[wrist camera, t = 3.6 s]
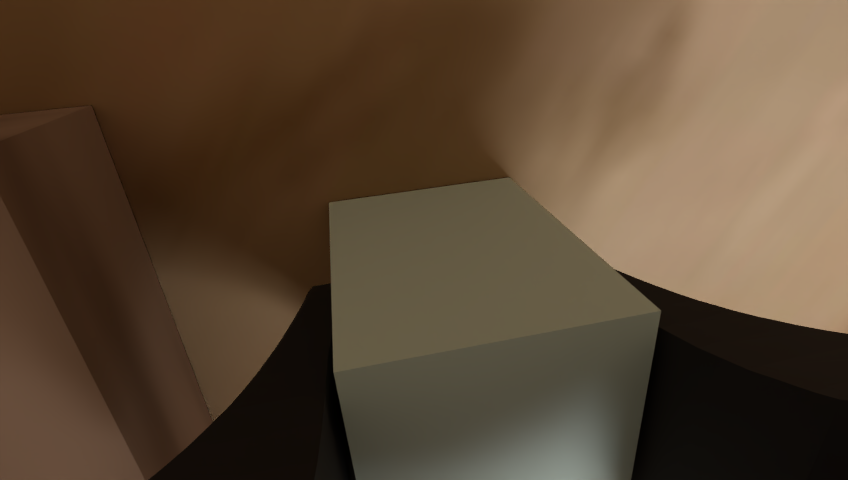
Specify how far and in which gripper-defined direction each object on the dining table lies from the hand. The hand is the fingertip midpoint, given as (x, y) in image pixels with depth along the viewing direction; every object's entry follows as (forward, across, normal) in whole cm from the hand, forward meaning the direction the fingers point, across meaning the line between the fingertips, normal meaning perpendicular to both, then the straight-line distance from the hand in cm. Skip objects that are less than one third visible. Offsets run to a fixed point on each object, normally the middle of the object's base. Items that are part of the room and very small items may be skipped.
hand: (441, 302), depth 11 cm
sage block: (+2, 0, 0) cm, 2 cm away
